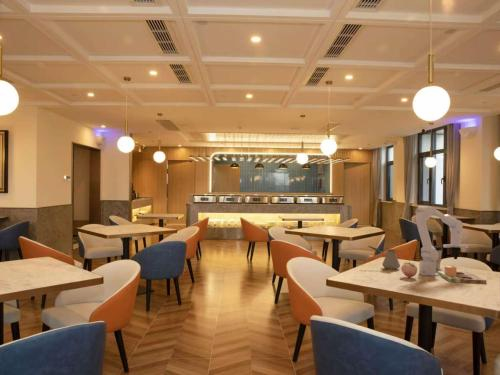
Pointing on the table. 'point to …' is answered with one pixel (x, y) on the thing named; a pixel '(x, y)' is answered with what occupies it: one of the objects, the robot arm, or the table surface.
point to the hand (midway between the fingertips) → (455, 258)
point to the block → (450, 270)
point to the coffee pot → (389, 259)
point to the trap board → (463, 277)
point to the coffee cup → (439, 250)
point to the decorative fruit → (409, 269)
